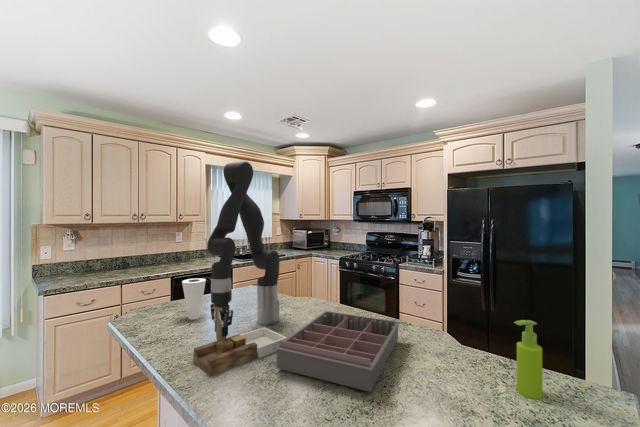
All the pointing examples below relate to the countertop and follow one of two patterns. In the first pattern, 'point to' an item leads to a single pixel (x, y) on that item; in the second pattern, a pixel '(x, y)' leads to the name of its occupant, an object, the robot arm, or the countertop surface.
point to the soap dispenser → (529, 363)
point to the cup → (193, 296)
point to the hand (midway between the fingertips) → (221, 333)
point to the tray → (264, 340)
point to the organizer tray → (340, 349)
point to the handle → (219, 323)
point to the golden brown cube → (238, 341)
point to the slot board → (223, 357)
